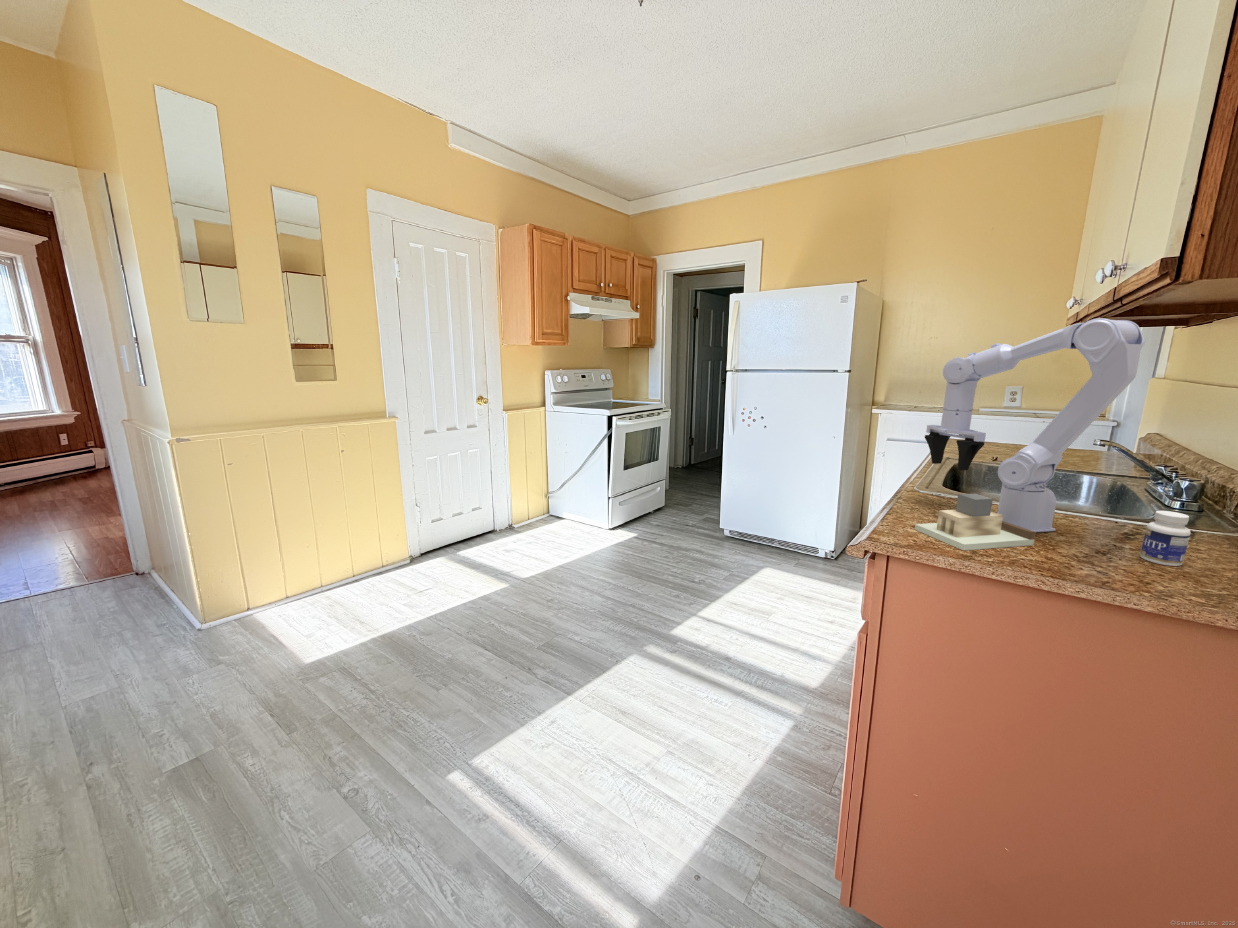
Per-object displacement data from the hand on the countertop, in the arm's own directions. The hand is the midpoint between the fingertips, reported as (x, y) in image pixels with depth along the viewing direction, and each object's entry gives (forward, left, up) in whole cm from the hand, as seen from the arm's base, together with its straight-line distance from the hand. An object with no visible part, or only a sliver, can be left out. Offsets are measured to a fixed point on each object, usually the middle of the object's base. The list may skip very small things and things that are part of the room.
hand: (949, 466), depth 117 cm
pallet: (+12, +19, -9) cm, 24 cm away
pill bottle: (-12, +35, -11) cm, 38 cm away
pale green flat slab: (+11, +19, -10) cm, 24 cm away
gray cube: (+12, +19, -5) cm, 23 cm away
